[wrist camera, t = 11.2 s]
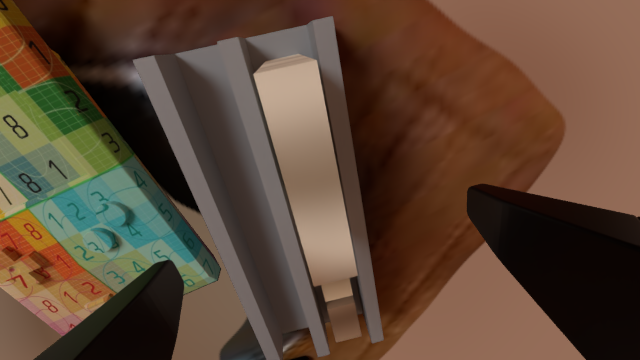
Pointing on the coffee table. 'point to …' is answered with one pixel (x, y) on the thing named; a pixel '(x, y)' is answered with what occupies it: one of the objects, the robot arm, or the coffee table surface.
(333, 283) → the offcut light
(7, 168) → the puzzle game
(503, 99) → the coffee table surface
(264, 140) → the rack
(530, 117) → the coffee table surface
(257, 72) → the beige square panel
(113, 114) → the coffee table surface
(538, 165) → the coffee table surface
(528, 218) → the robot arm
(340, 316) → the offcut dark
